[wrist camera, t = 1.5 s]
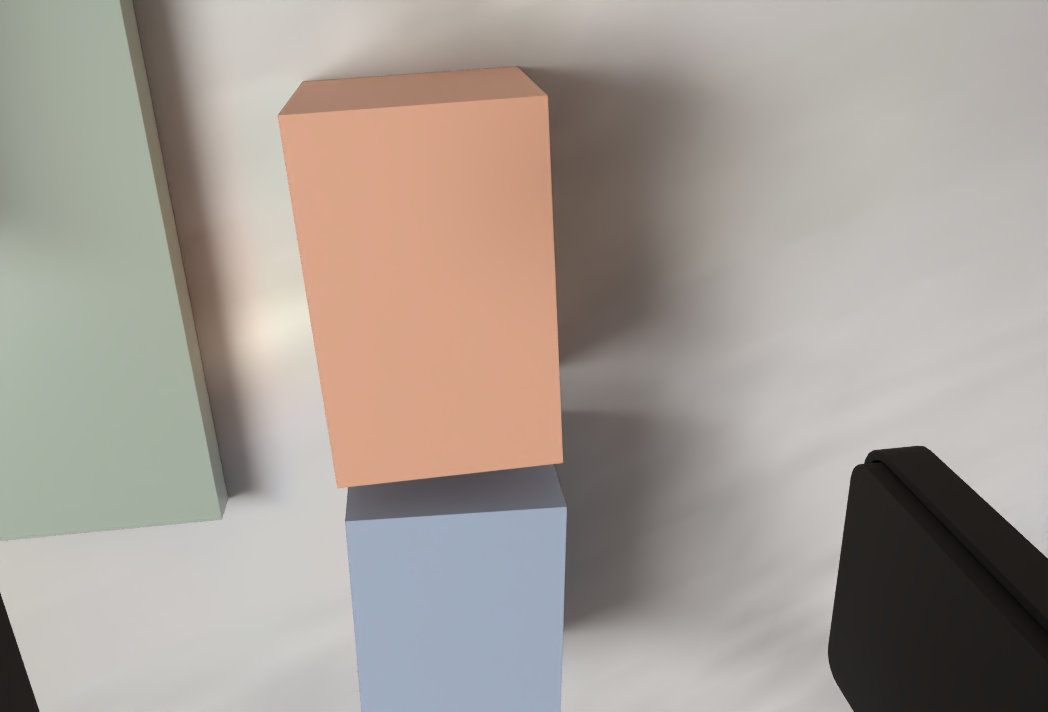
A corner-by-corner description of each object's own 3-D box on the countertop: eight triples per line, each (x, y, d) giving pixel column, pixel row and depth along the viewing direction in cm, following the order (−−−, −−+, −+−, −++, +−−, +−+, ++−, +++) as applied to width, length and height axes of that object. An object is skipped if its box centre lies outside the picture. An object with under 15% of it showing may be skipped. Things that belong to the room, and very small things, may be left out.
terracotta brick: (516, 65, 22) (547, 95, 17) (533, 370, 25) (563, 462, 20) (302, 80, 21) (277, 115, 17) (348, 389, 25) (337, 488, 20)
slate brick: (536, 407, 25) (566, 507, 21) (533, 635, 29) (558, 763, 24) (354, 417, 25) (345, 521, 20) (372, 648, 28) (367, 782, 24)
